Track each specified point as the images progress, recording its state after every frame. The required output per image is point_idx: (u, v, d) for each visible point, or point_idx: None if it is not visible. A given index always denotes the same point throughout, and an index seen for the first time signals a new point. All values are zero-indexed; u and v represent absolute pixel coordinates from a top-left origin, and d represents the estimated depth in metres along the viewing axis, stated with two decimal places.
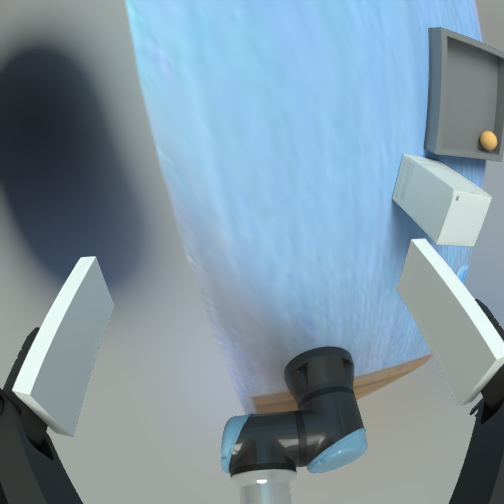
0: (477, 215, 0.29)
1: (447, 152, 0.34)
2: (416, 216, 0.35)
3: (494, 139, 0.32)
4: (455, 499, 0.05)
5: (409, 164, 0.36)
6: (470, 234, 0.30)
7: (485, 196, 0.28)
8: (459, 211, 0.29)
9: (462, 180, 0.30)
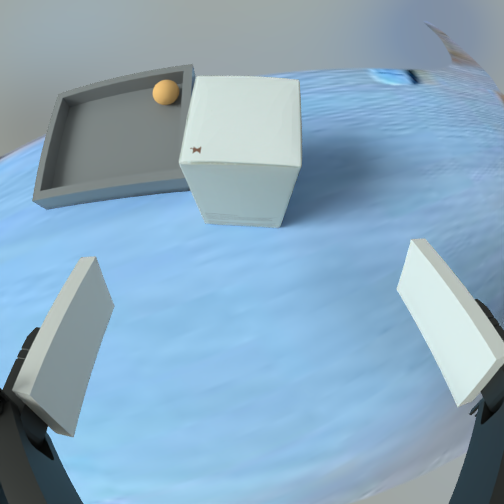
0: (231, 92, 0.18)
1: None
2: (278, 200, 0.22)
3: (158, 85, 0.28)
4: (455, 499, 0.05)
5: (211, 217, 0.27)
6: (273, 93, 0.18)
7: (194, 89, 0.18)
8: (224, 135, 0.17)
9: None
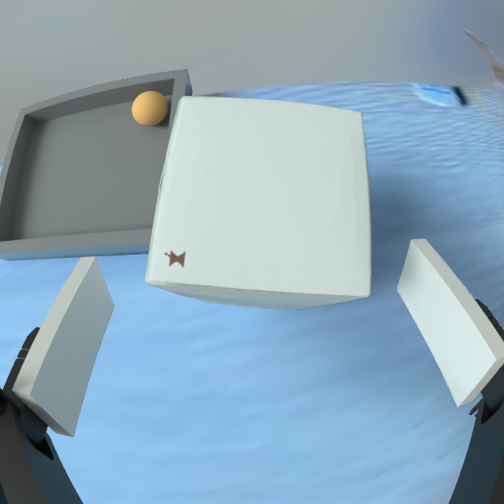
0: (243, 133, 0.10)
1: None
2: (311, 305, 0.14)
3: (138, 100, 0.21)
4: (455, 499, 0.05)
5: None
6: (320, 138, 0.10)
7: (176, 123, 0.10)
8: (229, 229, 0.09)
9: None
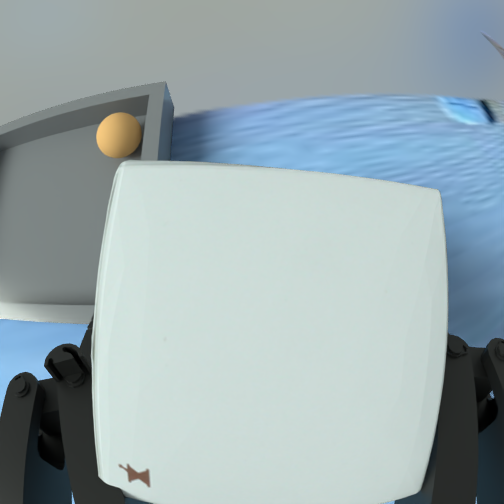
0: (235, 253, 0.05)
1: None
2: None
3: (102, 126, 0.16)
4: None
5: None
6: (380, 258, 0.05)
7: (110, 224, 0.06)
8: (215, 446, 0.05)
9: None
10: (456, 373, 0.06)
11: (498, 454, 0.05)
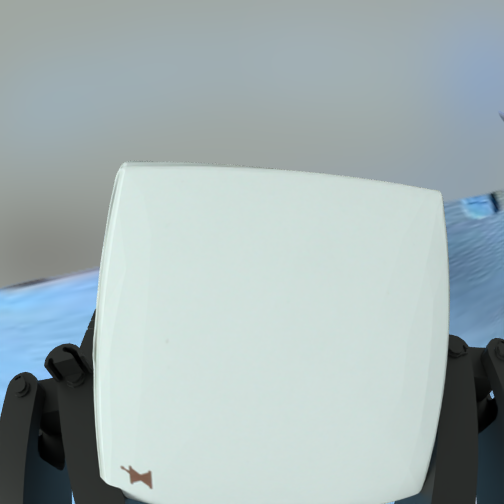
0: (237, 255, 0.05)
1: None
2: None
3: None
4: None
5: None
6: (381, 259, 0.05)
7: (111, 225, 0.06)
8: (217, 447, 0.05)
9: None
10: (456, 373, 0.06)
11: (498, 454, 0.05)
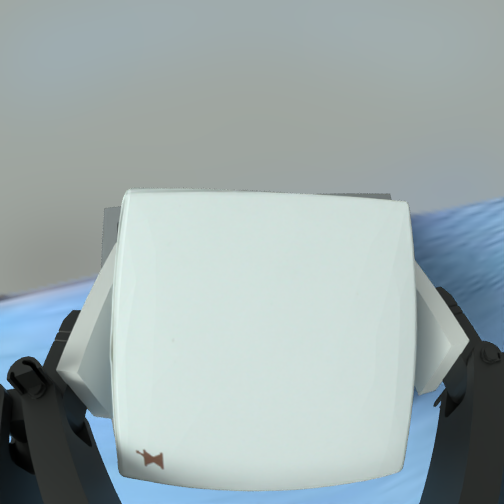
0: (228, 267, 0.06)
1: None
2: None
3: None
4: (426, 496, 0.05)
5: None
6: (351, 265, 0.06)
7: (121, 245, 0.07)
8: (218, 428, 0.06)
9: None
10: (490, 378, 0.06)
11: None
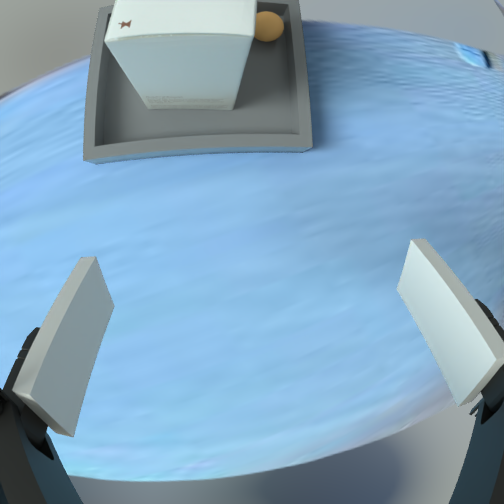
0: None
1: (306, 119, 0.22)
2: (228, 78, 0.16)
3: (262, 18, 0.20)
4: (455, 499, 0.05)
5: (153, 101, 0.20)
6: None
7: None
8: (159, 5, 0.10)
9: None
10: None
11: None
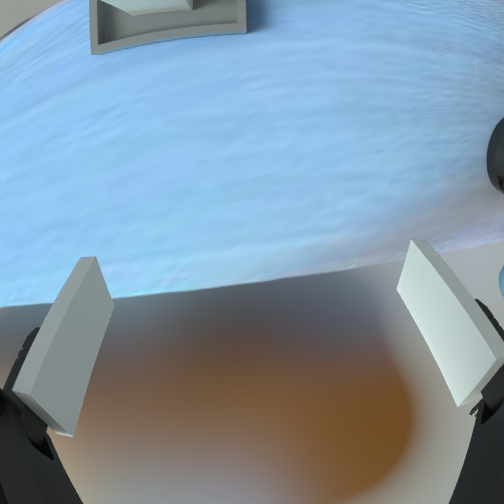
0: None
1: (242, 13, 0.25)
2: None
3: None
4: (455, 499, 0.05)
5: (135, 12, 0.24)
6: None
7: None
8: None
9: None
10: None
11: None
